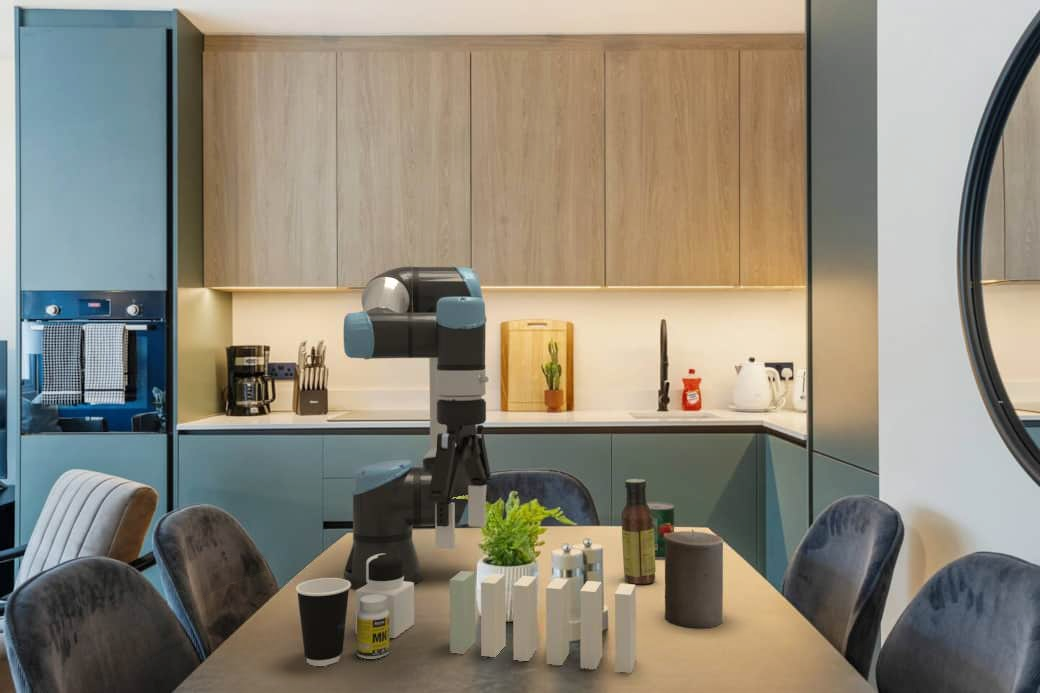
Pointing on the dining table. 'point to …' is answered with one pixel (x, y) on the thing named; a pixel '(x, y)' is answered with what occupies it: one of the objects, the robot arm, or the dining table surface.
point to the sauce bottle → (638, 535)
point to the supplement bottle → (373, 627)
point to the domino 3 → (557, 621)
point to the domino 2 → (525, 618)
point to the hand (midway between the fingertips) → (462, 536)
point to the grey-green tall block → (462, 611)
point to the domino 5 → (625, 627)
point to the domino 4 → (591, 624)
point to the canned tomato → (661, 525)
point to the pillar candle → (693, 579)
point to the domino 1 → (493, 615)
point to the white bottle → (389, 590)
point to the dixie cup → (323, 618)
